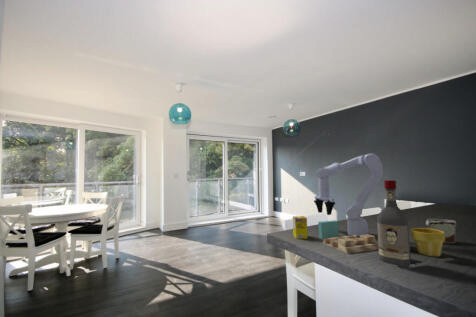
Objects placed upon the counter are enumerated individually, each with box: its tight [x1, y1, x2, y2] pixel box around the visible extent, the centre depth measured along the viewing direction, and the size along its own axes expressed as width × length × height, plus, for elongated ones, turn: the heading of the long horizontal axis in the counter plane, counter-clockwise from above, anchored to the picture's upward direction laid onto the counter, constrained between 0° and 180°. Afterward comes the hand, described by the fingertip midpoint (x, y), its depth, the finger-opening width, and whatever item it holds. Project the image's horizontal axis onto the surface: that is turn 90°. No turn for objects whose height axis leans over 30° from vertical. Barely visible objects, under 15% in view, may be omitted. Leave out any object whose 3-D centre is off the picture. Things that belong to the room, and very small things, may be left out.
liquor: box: [376, 179, 412, 269], centre depth 85 cm, size 9×9×30 cm
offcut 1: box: [337, 238, 354, 252], centre depth 97 cm, size 4×4×4 cm
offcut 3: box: [359, 233, 376, 245], centre depth 100 cm, size 4×4×4 cm
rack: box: [321, 235, 379, 255], centre depth 102 cm, size 18×16×3 cm
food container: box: [425, 218, 458, 244], centre depth 110 cm, size 12×6×10 cm, turn 84°
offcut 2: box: [351, 237, 365, 246], centre depth 99 cm, size 5×4×4 cm
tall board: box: [317, 220, 340, 239], centre depth 116 cm, size 10×2×8 cm, turn 107°
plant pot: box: [410, 227, 445, 257], centre depth 91 cm, size 10×10×10 cm
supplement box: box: [292, 215, 308, 240], centre depth 117 cm, size 6×6×11 cm
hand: (324, 213), depth 129 cm, fingers open, 7 cm apart
